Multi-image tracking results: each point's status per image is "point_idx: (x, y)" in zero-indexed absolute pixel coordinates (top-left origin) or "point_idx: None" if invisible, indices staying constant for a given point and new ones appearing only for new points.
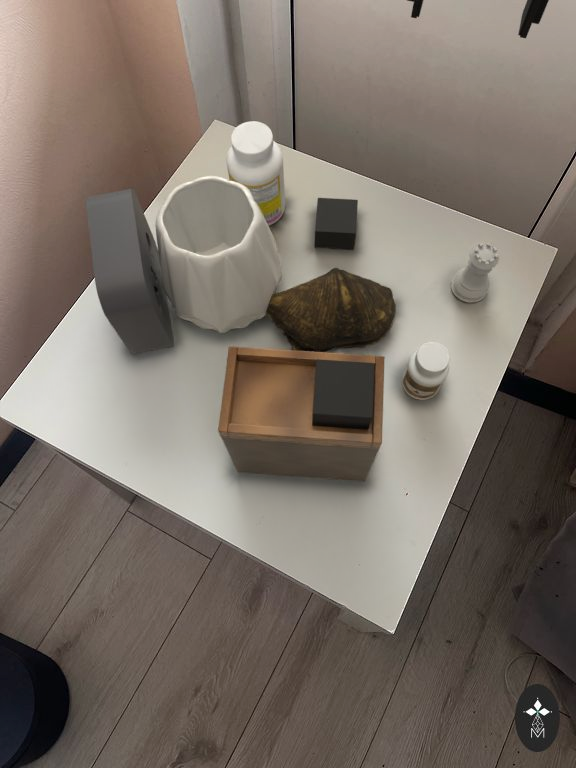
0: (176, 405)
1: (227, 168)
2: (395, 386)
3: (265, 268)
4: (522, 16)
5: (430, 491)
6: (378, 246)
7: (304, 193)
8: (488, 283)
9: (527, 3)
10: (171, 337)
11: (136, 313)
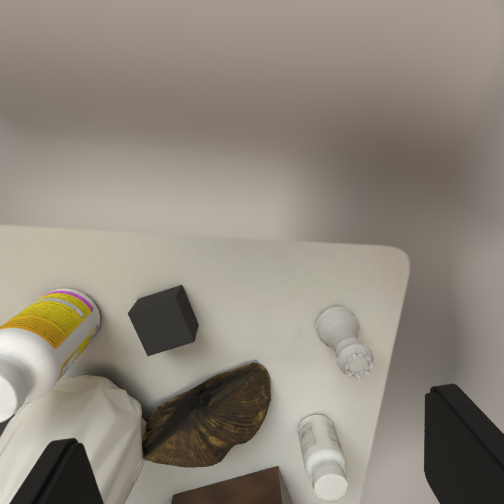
0: None
1: None
2: (294, 438)
3: (120, 497)
4: (433, 429)
5: (348, 499)
6: (223, 311)
7: (108, 276)
8: (357, 329)
9: (465, 475)
10: None
11: None
